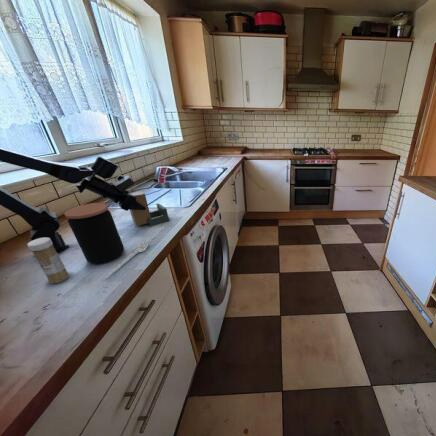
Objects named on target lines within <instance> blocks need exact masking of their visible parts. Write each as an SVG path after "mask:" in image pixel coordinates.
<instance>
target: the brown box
mask: <svg viewBox="0 0 436 436" xmlns="http://www.w3.org/2000/svg"><path fill="white" fill-rule="evenodd" d="M129 193H130V194H132V195H133V196H135V197H136V201H137V202H139V203H140V204H141V205H143V206H144V207H146V210H129V212H130V215H131V218H132V222H133V224H134V225H135V226H136V227H138V226H142V225H146V224H149V223H148V219H151V215H150V212H151V211H150V208H149V204H148V201H147V197H146V194H145V192H143V191H135V192H134V191H133V192H129Z"/></svg>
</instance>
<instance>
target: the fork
mask: <svg viewBox="0 0 436 436" xmlns="http://www.w3.org/2000/svg"><path fill="white" fill-rule="evenodd" d="M149 244H150V239H143V240H142V242H141V243H140V244H139V246H138V247H137V248H136V249H134V250H133V251H132V252H131V253H130V254H129V255H128V256H127V257H125V259H124V260H122V261H121V262H120V263H119V264H118V265H117V266H115V267H114V268H113V269H112V270H111V271H110V272H109V273H107V274H106V276H105V277H104V279H109V278H110V277H111V276H113V275H114V274H115V273H116V272H117V271H118V270H119V269H120V268H122V266H124V265H125V264H126V263H127V262H128V261H130V260H131V259H132V258H133V257H134V256H135V255H137V254H138V253H143V252H146V250H147V248H148V247H149Z"/></svg>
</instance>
